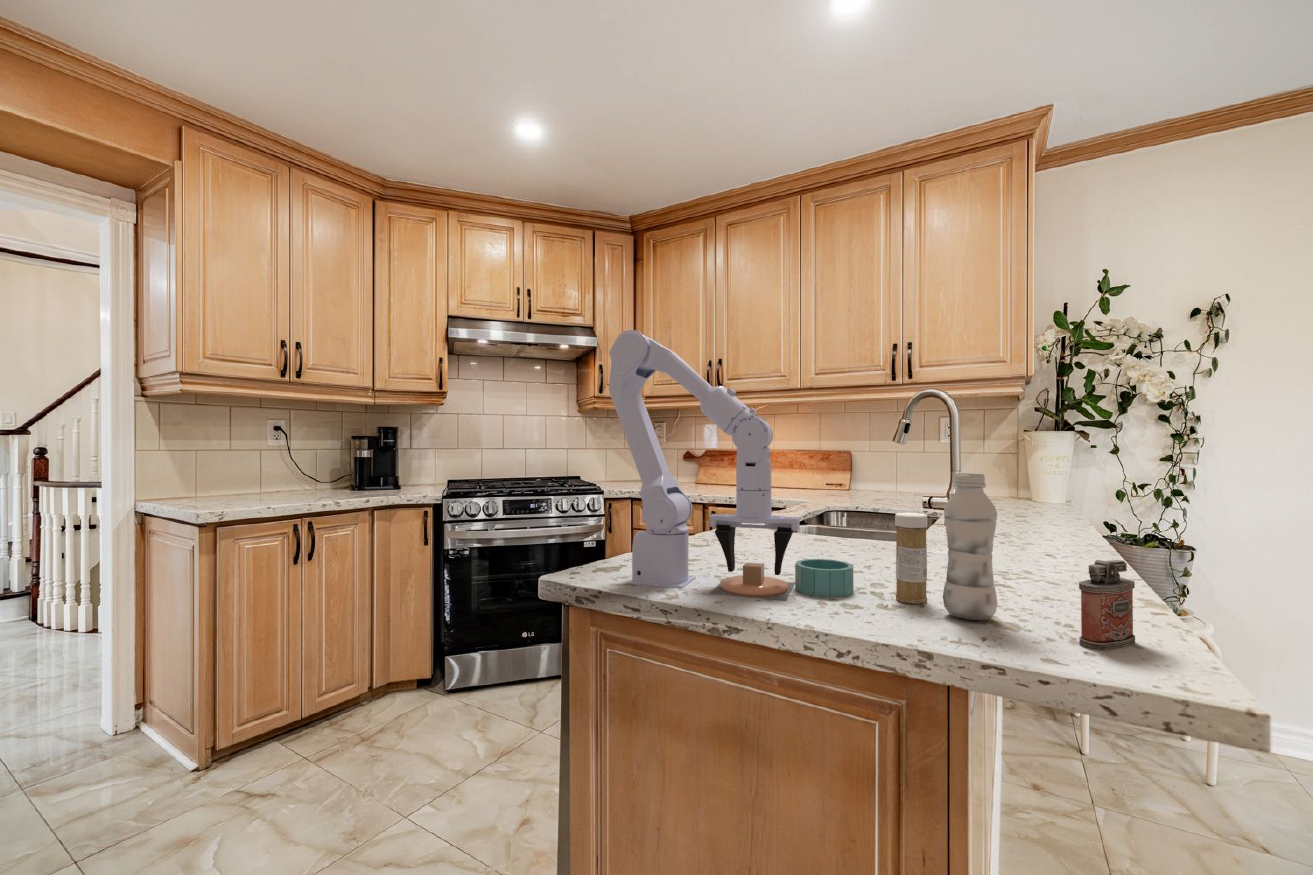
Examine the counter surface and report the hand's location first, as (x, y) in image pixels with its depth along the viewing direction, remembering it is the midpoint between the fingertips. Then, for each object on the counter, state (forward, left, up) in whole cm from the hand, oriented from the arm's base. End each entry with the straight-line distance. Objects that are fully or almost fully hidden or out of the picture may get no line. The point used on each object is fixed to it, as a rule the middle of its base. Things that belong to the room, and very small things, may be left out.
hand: (754, 572), depth 96 cm
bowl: (+11, +3, -3) cm, 12 cm away
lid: (0, 0, -3) cm, 3 cm away
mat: (0, 0, -3) cm, 3 cm away
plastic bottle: (+31, -5, -3) cm, 31 cm away
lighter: (+45, -11, -3) cm, 46 cm away
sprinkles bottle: (+24, +2, -3) cm, 24 cm away
